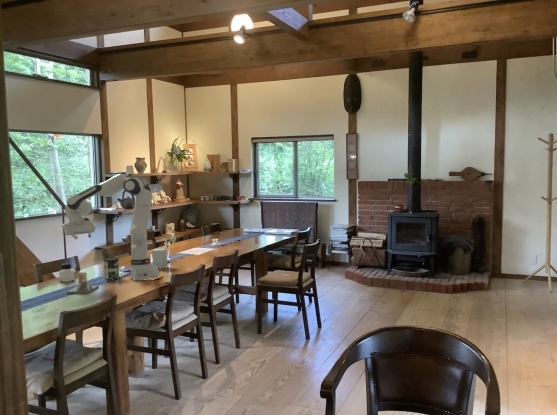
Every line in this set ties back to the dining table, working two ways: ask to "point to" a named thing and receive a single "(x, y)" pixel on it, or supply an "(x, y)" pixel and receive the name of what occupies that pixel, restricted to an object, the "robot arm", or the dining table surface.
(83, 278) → the birch peg
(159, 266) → the supplement box
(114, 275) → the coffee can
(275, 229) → the dining table surface
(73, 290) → the pin board
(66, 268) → the medicine bottle
